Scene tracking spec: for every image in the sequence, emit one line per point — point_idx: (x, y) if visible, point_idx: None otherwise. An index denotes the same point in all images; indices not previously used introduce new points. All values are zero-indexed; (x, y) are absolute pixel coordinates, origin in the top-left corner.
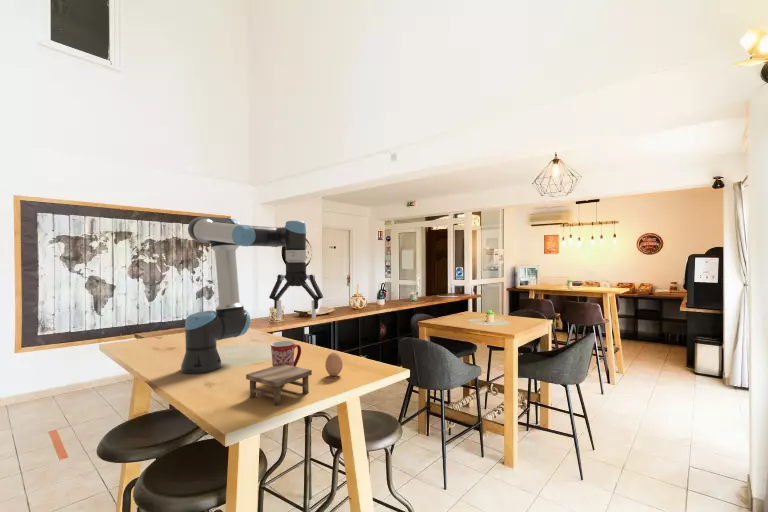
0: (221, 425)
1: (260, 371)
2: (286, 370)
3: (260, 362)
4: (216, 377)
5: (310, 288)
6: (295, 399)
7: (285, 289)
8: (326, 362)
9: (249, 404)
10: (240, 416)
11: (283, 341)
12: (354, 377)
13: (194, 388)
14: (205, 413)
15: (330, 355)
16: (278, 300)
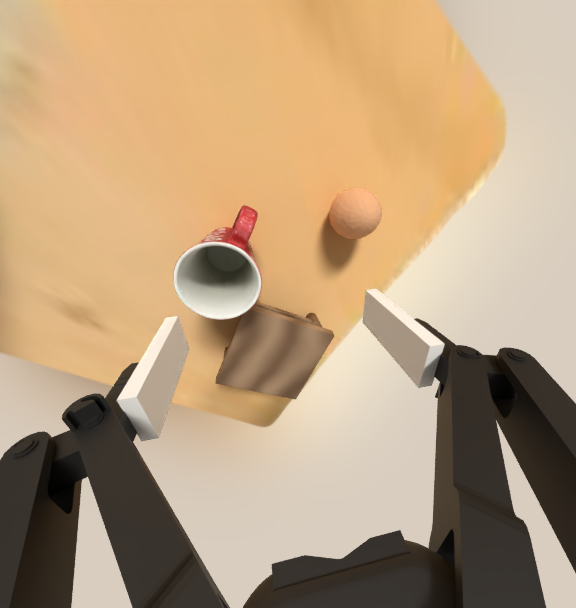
0: (249, 419)
1: (231, 363)
2: (283, 348)
3: (16, 73)
4: (42, 271)
5: (498, 456)
6: None
7: (193, 546)
8: (340, 231)
9: None
10: (256, 400)
11: (198, 248)
12: (390, 216)
13: (75, 341)
14: (202, 405)
15: (358, 230)
16: (138, 423)
